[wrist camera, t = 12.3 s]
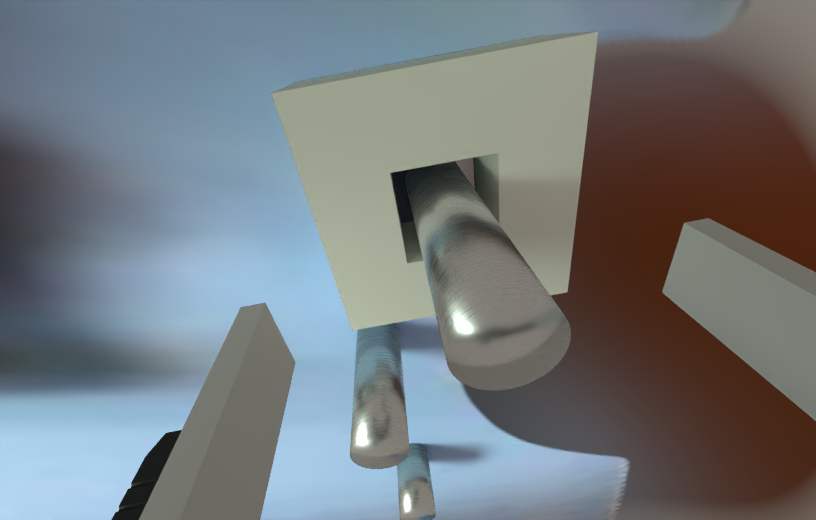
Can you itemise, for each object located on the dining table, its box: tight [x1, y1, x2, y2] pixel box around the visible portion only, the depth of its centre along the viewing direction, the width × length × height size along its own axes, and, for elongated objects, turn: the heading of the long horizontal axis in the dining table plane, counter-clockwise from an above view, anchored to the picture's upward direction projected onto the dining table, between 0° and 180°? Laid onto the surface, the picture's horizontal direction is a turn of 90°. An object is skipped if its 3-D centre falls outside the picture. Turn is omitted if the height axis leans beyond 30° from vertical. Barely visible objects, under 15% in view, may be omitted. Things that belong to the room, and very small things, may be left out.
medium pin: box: [350, 323, 410, 469], centre depth 24 cm, size 3×3×10 cm
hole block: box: [271, 32, 598, 331], centre depth 19 cm, size 13×13×5 cm
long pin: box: [406, 161, 571, 390], centre depth 15 cm, size 3×3×14 cm
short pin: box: [397, 444, 436, 520], centre depth 35 cm, size 3×3×6 cm
